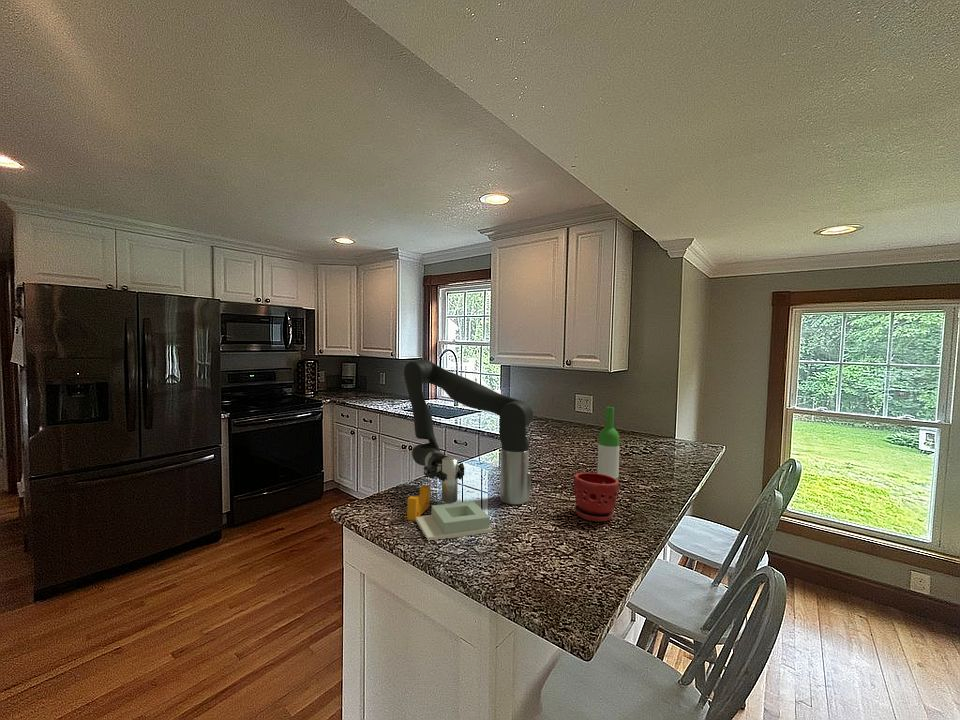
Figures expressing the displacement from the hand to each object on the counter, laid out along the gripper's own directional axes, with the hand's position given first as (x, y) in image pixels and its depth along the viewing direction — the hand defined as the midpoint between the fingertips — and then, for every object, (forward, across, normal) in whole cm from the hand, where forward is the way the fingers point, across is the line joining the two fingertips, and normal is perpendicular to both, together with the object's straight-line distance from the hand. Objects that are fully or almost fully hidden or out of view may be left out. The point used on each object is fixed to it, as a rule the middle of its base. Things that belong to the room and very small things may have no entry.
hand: (452, 477), depth 126 cm
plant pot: (+17, +41, +11) cm, 46 cm away
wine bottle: (-8, +66, +11) cm, 67 cm away
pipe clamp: (-2, -11, +11) cm, 15 cm away
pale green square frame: (+11, -3, +10) cm, 16 cm away
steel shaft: (-3, 0, +8) cm, 8 cm away
